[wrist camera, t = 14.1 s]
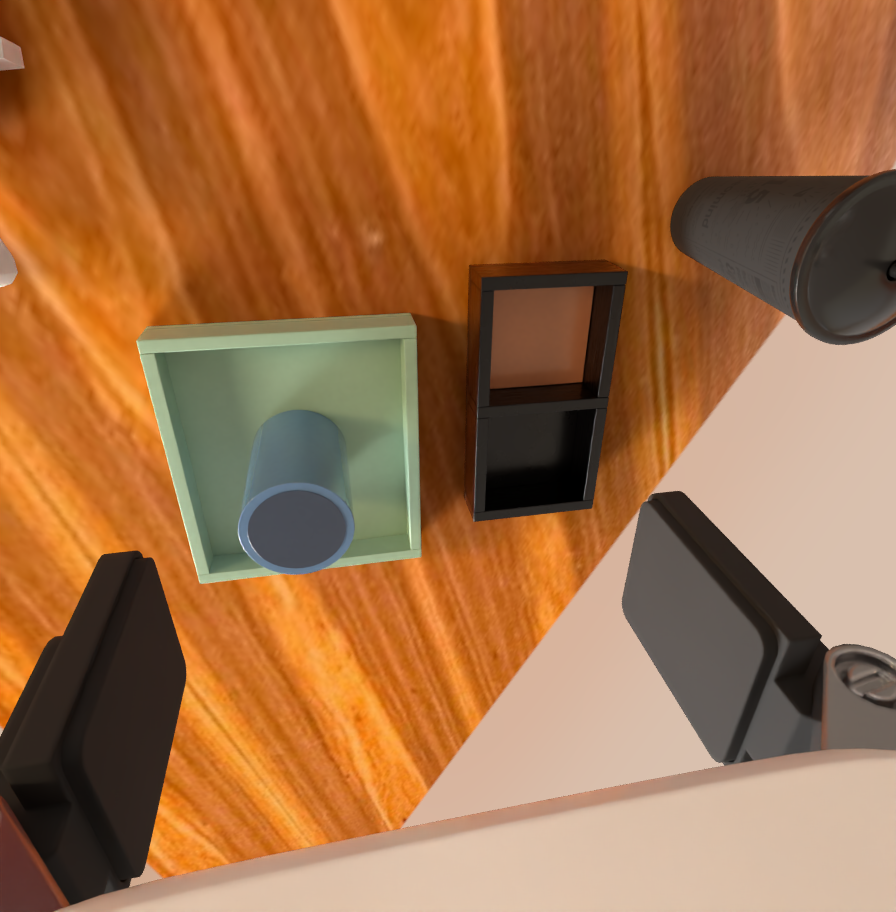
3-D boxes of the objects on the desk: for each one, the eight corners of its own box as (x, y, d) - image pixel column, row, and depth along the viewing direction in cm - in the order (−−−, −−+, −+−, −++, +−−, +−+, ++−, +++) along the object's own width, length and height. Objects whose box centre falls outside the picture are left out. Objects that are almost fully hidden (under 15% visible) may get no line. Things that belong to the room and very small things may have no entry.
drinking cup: (781, 208, 39) (1141, 283, 22) (694, 300, 41) (962, 434, 24) (718, 121, 36) (1087, 131, 19) (626, 226, 38) (883, 322, 21)
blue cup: (245, 413, 38) (228, 489, 31) (343, 405, 39) (350, 477, 32) (259, 494, 42) (247, 581, 34) (350, 485, 43) (358, 568, 35)
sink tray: (146, 325, 35) (135, 340, 33) (410, 312, 38) (416, 325, 36) (205, 560, 44) (199, 584, 42) (416, 536, 47) (421, 557, 44)
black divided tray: (468, 264, 37) (481, 277, 34) (605, 259, 39) (628, 271, 36) (463, 496, 46) (473, 522, 43) (575, 485, 47) (592, 508, 44)
